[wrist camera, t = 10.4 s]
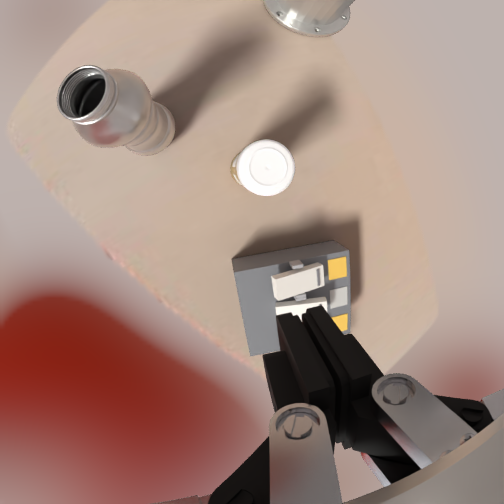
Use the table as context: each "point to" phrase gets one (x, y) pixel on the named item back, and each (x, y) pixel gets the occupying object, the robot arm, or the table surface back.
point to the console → (263, 301)
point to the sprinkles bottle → (264, 167)
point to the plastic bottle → (115, 110)
